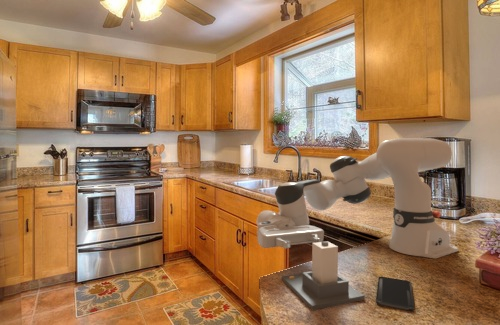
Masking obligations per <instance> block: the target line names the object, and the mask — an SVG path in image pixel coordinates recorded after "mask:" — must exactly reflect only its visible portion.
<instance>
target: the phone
mask: <svg viewBox="0 0 500 325" xmlns="http://www.w3.org/2000/svg"><path fill="white" fill-rule="evenodd" d="M376 289H377V290H376V296H375V304H376V305H378V306H381V307H383V308H384V307H386V308H390V309H395V310H400V311H402V312H403V311H405V312H409V313H412V312H414V311H415V300H414V292H413V286H412V282H411V281H409V280H404V279H399V278H393V277H388V276H378V280H377V288H376Z"/></svg>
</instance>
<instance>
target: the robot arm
mask: <svg viewBox="0 0 500 325" xmlns="http://www.w3.org/2000/svg"><path fill="white" fill-rule="evenodd" d="M452 154H453V152H452V149H451V145H449V144H448V142H446V141H444V140H441V139H436V138H429V137H427V138H426V137H424V138H423V137H416V138H415V137H397V138H395V137H394V138H391V139H387V140H383V141H381V143H380V144H379V145H378V147H377V150H376V152H375V153H373V154H370V155H369V156H367V157H366V158H364V159H363V160H361V161H357V160H358V158H357V157H352V156H349V155H342V156H338V157H336V158H335V159H334V160H333V161H331V163H330V164H329V169H330V173H332V176H333V178H334V179H326V180H322V181H320V180H319V179H315V178H313V179H303V180H299V181H289V182H284V183H281V184H279V185H278V186H277V188H276V189H275V192H274V196H275V199H276V202H277V206H278V210H279V211H278V212H275V211H274V210H269V209H267V210H266V209H264V210H261V212H260V213H258V216H257V218H256V226H257V227H256V228H257V229H256V235H257V236H256V237H257V243H258V244H259V246H260V247H261V248H264V249H270V248H277V247H280V248H283V249H285V250H286V249H291V246H293V245H295V246H296V245H303V244H312V243H317V242H323V241H324V238H325V237H324V236H325V232H324V229H322V228H321V227H317V226H315V225H311V224H310V219H309V214H308V209H307V204H308V205H309V206H310V207H311V208H312V209H314V210H318V211H326V210H328V209H330V208H331V207H332V206H334V204H336V203H337V201H338V200H339V199H341V198H343V199H342V201H343V202H347V203H350V204H353V205H357V204H362V203H364V202H366V201H367V200H368V199H369V198H370V197H371V195H372V192H371V188H370V186H368V184H367V182H366V180H368V181H378V180H379V181H380V180H385V179H389V178H391V180H392V183H393V188H394V207H393V210H392V216H393V217H392V218H393V223H392V229H391V236H390V238H389V245H388V248H390V249H391V250H393V251H395V252H398V253H400V254H404V255H410V256H413V257H414V256H415V257H425V258H428V259H429V258H430V259H439V258H442V257H445V256H449V255H450V254H454V253H456V252H459V248H458V247H457V246H455V245H453V244H451V242H450V241H451V238H450V237H451V236H450V234H449V232H448V231H447V230H446V229H444V228H443V227H442V226H441V225H440V224H438V223H437V222H436V219H435V218H441V211H436V210H433V211H432V188H431V187H430V185H428V184H427V183H426V182H424V181H423V180H422V179H421V178H420V175H419V173H420V172H426V171H430V170H436V169H440V168H444V167H446V166H447V165H448V164H449V163H450V161H451V159H452ZM305 199H306V200H305ZM306 202H307V204H306Z"/></svg>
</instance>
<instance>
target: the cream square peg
mask: <svg viewBox="0 0 500 325" xmlns="http://www.w3.org/2000/svg"><path fill="white" fill-rule="evenodd" d="M311 244H312V245H311V247H312V248H311V249H312V252H311V253H312V254H311V260H312V261H311V262H312V264H311V268H312V269H311V270H312V278H313V279H314V280H316V281H317V282H318V283H319V284H326V283H331V282H337V281H338V274H339V273H338V268H339V264H338V262H339V259H338V258H339V246H338V245H335V244H334V243H331V242H330V241H328V240H327V241H326V240H325V241H324V240H323V241H321V242H317V243H313V242H312V243H311Z"/></svg>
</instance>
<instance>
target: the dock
mask: <svg viewBox="0 0 500 325" xmlns="http://www.w3.org/2000/svg"><path fill="white" fill-rule="evenodd" d="M281 281H282V282H284V284H286V285H287V287H289V289H291V291H293V293H294V294H296V296H297V297H298V298H300V300H301V301H303V302H304V304H305V305H306V306H308V307H309V309H311V311H315V310H319V309H325V308H330V307H334V306H335V307H336V306H340V305H344V304H345V305H346V304H350V303H355V302H359V301H364V300H365V296H366V295H365V294H363V293H362V292H360V291H359V290H357V289H356V288H354V287H353V286H352V285H350V284H349V282H350V281H349V280H348V279H346V278H344V277H343V276H341V275H340V274H339V273H338V281H337V282H331V283H326V284H319V283H318V282H317V281H316V280H314V279H313V278H312V271H304V272H299V273H293V274H289V275H288V274H287V275H282V276H281Z"/></svg>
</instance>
